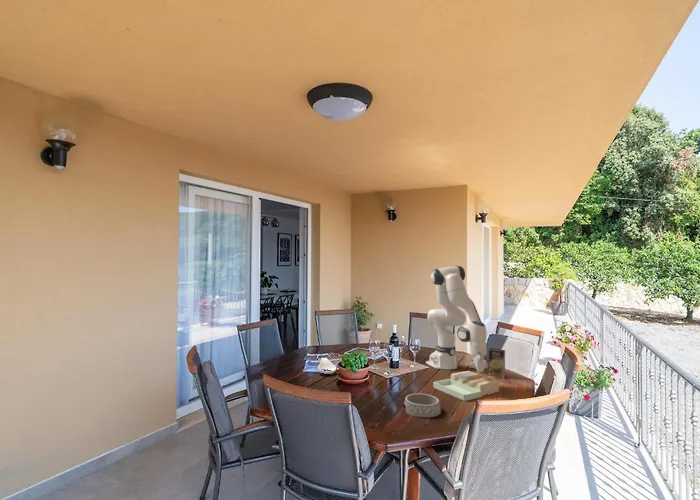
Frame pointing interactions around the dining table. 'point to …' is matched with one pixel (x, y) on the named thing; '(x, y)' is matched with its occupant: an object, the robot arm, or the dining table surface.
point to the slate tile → (466, 376)
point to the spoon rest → (326, 366)
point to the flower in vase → (475, 366)
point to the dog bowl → (422, 405)
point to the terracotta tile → (474, 375)
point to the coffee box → (496, 363)
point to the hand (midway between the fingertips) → (478, 374)
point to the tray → (457, 389)
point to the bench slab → (478, 383)
